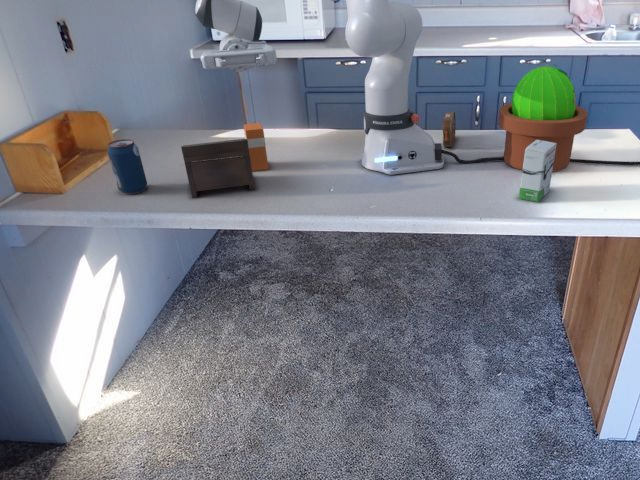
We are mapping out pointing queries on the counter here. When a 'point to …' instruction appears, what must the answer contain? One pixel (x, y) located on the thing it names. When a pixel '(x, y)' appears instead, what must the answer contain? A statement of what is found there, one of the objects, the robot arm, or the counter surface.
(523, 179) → the ink box
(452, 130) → the tin
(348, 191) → the counter surface
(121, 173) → the soda can
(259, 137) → the packet
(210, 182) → the brown wooden cabinet
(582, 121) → the potted cactus
